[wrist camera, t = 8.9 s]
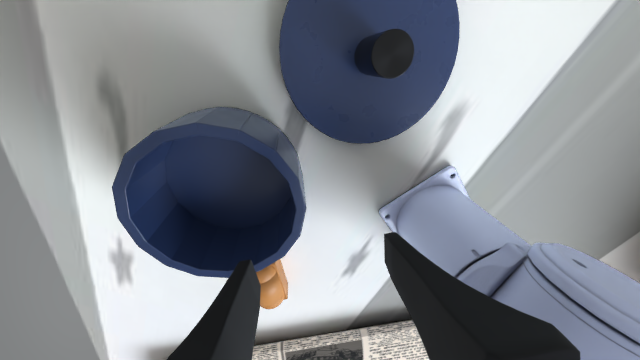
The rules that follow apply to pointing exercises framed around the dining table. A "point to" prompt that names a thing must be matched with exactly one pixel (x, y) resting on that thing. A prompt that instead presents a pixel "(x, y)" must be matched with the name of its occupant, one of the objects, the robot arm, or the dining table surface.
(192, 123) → the pot
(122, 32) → the dining table surface
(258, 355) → the newspaper
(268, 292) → the bread roll
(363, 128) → the lid
